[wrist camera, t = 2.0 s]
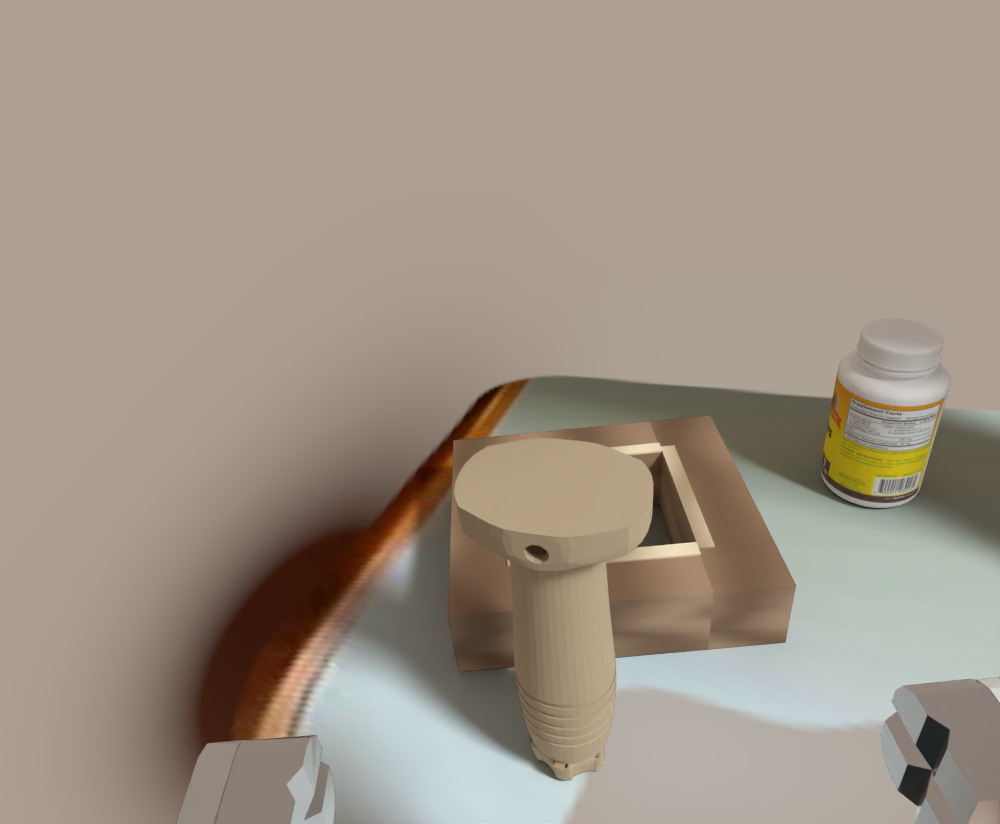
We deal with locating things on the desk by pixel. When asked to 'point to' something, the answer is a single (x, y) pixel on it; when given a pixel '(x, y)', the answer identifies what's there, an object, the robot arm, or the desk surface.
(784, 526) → the desk surface
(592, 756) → the handle
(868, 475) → the supplement bottle
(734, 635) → the square wooden frame
